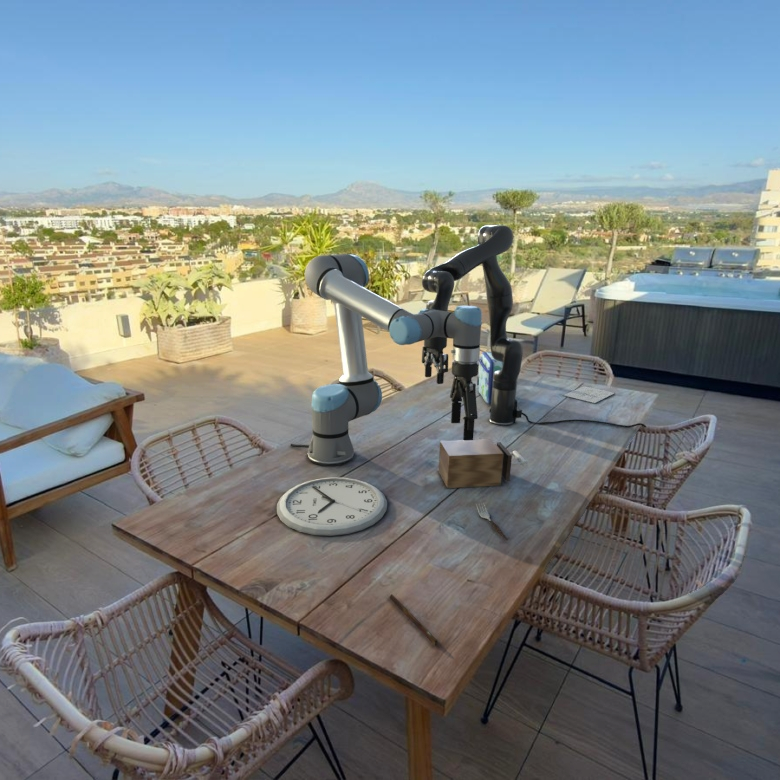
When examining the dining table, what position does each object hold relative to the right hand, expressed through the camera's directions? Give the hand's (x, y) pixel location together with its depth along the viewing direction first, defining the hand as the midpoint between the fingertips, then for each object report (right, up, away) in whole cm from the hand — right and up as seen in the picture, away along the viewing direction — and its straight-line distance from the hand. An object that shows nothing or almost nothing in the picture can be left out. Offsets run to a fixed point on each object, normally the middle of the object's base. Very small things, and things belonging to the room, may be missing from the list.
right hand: (433, 380), depth 176 cm
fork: (+12, -38, -42) cm, 58 cm away
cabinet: (+9, -30, -16) cm, 36 cm away
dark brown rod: (-11, -48, -75) cm, 90 cm away
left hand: (+6, -15, -22) cm, 27 cm away
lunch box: (+31, -7, +57) cm, 66 cm away
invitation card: (+78, -6, +66) cm, 102 cm away
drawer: (+16, -29, -16) cm, 37 cm away
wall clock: (-31, -35, -33) cm, 57 cm away
